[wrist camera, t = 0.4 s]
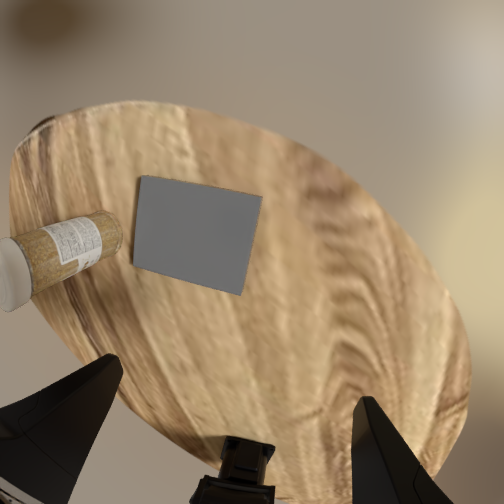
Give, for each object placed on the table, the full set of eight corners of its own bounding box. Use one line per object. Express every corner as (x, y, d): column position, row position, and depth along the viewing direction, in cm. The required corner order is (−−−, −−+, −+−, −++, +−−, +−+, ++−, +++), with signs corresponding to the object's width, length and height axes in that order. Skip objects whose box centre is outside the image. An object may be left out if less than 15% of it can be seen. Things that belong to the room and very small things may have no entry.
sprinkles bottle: (99, 261, 25) (-2, 318, 12) (84, 219, 24) (-25, 256, 11) (131, 247, 24) (20, 308, 11) (114, 201, 23) (-8, 233, 10)
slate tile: (242, 291, 23) (240, 295, 22) (138, 262, 24) (133, 265, 23) (262, 196, 21) (261, 197, 20) (147, 175, 22) (141, 175, 21)
